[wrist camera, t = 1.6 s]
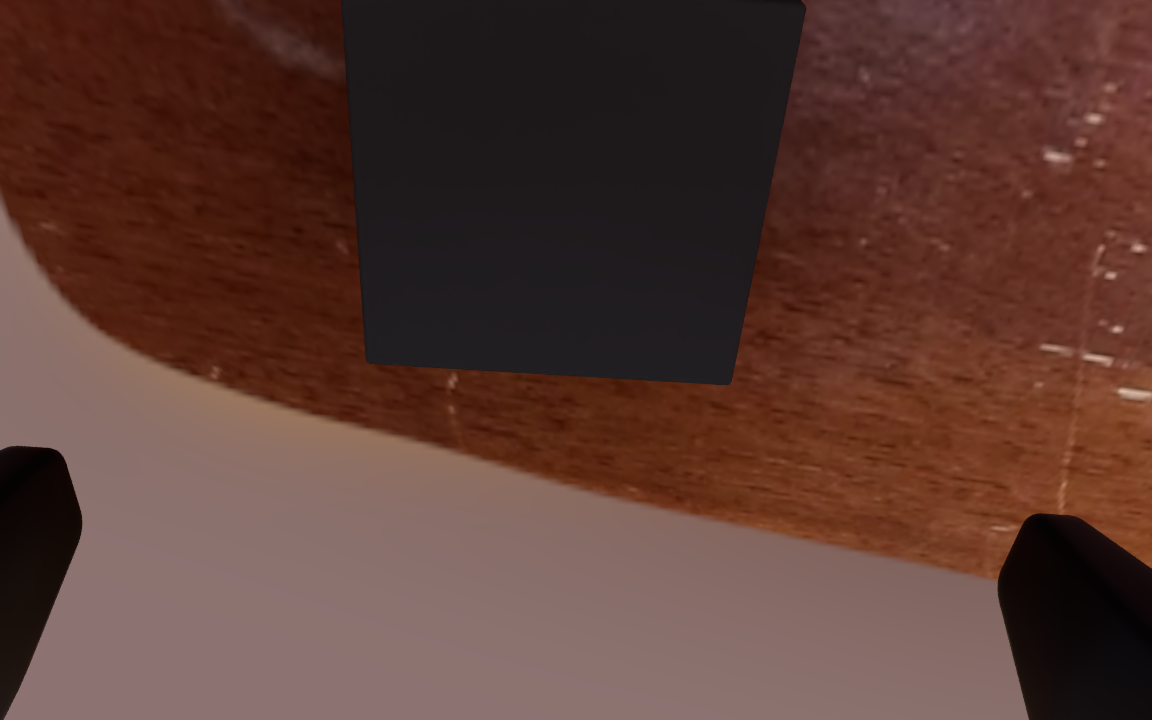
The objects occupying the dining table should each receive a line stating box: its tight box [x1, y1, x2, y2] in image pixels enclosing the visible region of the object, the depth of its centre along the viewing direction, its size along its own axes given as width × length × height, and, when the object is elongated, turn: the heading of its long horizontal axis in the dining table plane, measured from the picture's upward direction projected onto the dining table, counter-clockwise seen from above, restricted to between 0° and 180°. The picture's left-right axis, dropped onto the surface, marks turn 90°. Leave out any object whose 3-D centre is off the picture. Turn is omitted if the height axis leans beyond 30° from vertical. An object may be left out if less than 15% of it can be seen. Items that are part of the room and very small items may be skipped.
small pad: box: [341, 0, 806, 385], centre depth 16 cm, size 7×7×3 cm
